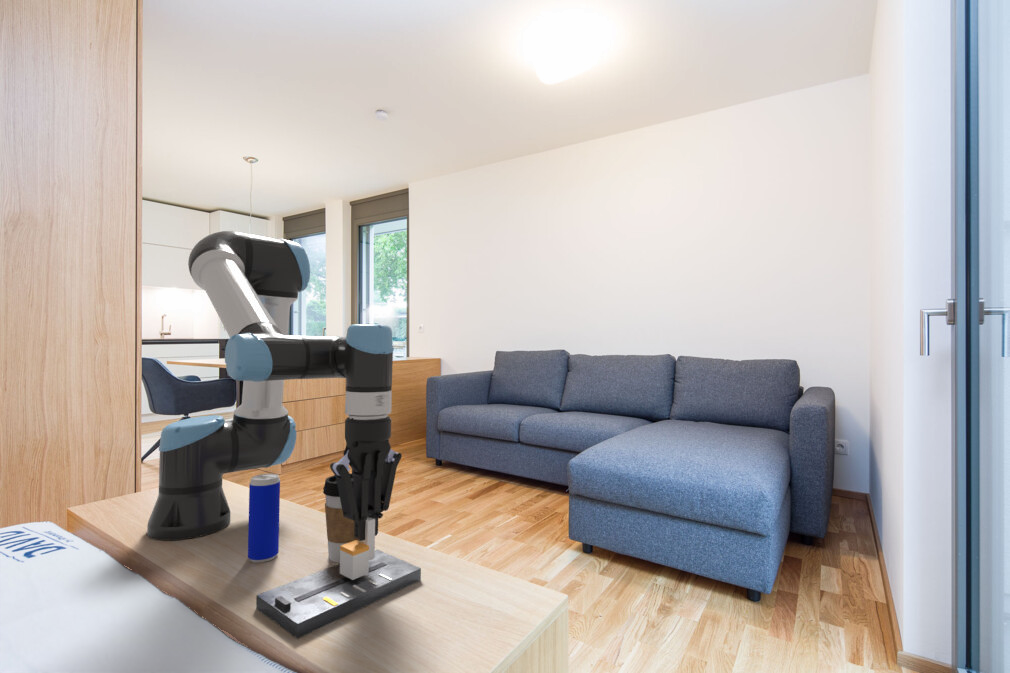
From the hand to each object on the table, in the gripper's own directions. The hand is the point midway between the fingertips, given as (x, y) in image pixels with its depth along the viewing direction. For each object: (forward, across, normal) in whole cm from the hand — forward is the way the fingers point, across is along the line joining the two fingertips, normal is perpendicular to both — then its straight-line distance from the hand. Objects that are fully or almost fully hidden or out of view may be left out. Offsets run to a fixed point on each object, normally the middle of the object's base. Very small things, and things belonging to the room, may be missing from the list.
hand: (365, 557), depth 82 cm
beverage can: (+5, -6, +23) cm, 24 cm away
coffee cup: (+5, +4, +12) cm, 14 cm away
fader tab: (+2, -2, 0) cm, 3 cm away
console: (+4, -4, 0) cm, 6 cm away
